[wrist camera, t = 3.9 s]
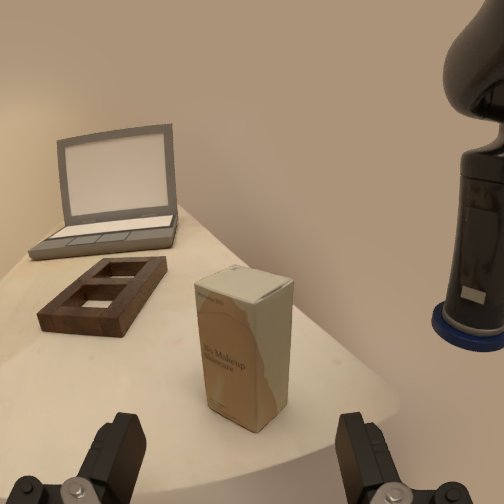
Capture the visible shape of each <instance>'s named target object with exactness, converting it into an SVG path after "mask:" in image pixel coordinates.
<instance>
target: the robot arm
mask: <svg viewBox="0 0 504 504" xmlns="http://www.w3.org/2000/svg"><path fill="white" fill-rule="evenodd" d="M443 86H444V91H445V94H446V97H447V99H448V101H449V103H450V104H451V106H452V107H453V108H454V109H455V110H456V111H457V112H459V113H461V114H462V115H465V116H467V117H471V118H474V119H480V120H486V121H492V122H497V123H499V124H500V125H499V134H498V137H497V138H496V140H495V141H493V142H492V143H490V144H488V145H486V146H484V147H481V148H477V149H473V150H469V151H466V152H464V153H463V154H462V157H461V164H460V174H461V176H460V190H459V208H458V219H457V229H456V238H455V247H454V254H453V261H452V267H451V273H450V279H449V284H448V290H447V296H446V300H445V303H444V306H443V311H442V315H443V318H444V320H445V321H446V322H447V323H448V324H449V325H450V326H452V327H453V328H455V329H457V330H459V331H461V332H463V333H466V334H469V335H473V336H479V337H491V336H496V335H499V334H501V333H502V332H503V331H504V0H485V2H484V3H483V5H482V7H481V8H480V10H479V11H478V13H477V14H476V16H475V17H474V18H473V19H472V20H471V22H470V23H469V24H468V25H467V26H466V27H465V29H464V30H463V31H462V32H461V33H460V35H459V36H458V37H457V38H456V39H455V40H454V42H453V43H452V45H451V47H450V49H449V50H448V53H447V56H446V59H445V63H444V69H443ZM335 448H336V453H337V458H338V462H339V466H340V471H341V475H342V479H343V484H344V488H345V492H346V497H347V502H348V504H473V502H472V500H471V497H470V495H469V492H468V490H467V488H466V487H465V486H464V485H462V484H461V483H458V482H447V483H444V484H442V485H441V486H440V487H439V488H438V489H437V490H414V489H411V488H409V487H408V486H407V485H405V484H403V483H402V481H401V480H400V478H399V475H398V473H397V470H396V467H395V465H394V462H393V459H392V457H391V454H390V451H389V450H388V447H387V444H386V443H385V439H384V436H383V433H382V431H381V430H380V429H379V428H378V427H377V426H376V425H375V424H374V423H373V422H372V423H366V424H364V421H363V418H362V415H361V413H360V412H354V413H346V414H341V415H340V418H339V423H338V428H337V433H336V438H335ZM145 451H146V437H145V435H144V432H143V429H142V427H141V424H140V421H139V419H138V416H137V415H136V414H129V413H121V412H118V413H117V414H116V416H115V419H114V421H113V423H106V424H105V425H103V426H102V427H101V428H100V429H99V430H98V432H97V434H96V436H95V438H94V441H93V443H92V445H91V449H89V451H88V453H87V455H86V457H85V460H84V462H83V464H82V466H81V468H80V471H79V473H78V475H77V476H76V477H73V478H70V479H68V480H66V481H65V482H64V483H63V484H62V485H49V484H42V483H41V482H40V481H39V480H38V479H37V478H36V477H33V476H23V477H21V478H19V479H18V480H17V481H16V483H15V484H14V487H13V489H12V491H11V493H10V495H9V497H8V499H7V502H6V504H129V503H130V500H131V497H132V494H133V490H134V487H135V484H136V480H137V477H138V474H139V471H140V467H141V464H142V461H143V458H144V455H145Z"/></svg>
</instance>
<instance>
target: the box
mask: <svg viewBox="0 0 504 504" xmlns="http://www.w3.org/2000/svg"><path fill="white" fill-rule="evenodd" d="M194 285H195V296H196V307H197V317H198V327H199V336H200V345H201V354H202V363H203V371H204V379H205V387H206V394H207V401H208V406H209V407H210V408H212V409H213V410H215V411H216V412H218V413H220V414H222V415H223V416H225V417H227V418H228V419H230V420H232V421H234V422H236V423H237V424H239V425H241V426H243V427H245V428H247V429H249V430H250V431H253V432H255V433H257V432H259V431H260V430H261V429H262V428H263V427H264V426H265V425H266V424H267V423H268V422H270V421H271V420H272V419H273V418H274V417H275V416H276V415H277V414H278V413H279V412H280V411H281V410H282V409H283V408H284V406H285V405H286V404H287V398H288V381H289V363H290V347H291V327H292V305H293V285H294V280H292V279H291V278H286V277H283V276H279V275H275V274H271V273H268V272H265V271H261V270H255V269H251V268H246V267H243V266H239V265H233V266H231V267H229V268H226V269H224V270H222V271H220V272H217V273H215V274H213V275H210V276H208V277H205V278H203V279H201V280H199V281H197V282H195V283H194Z"/></svg>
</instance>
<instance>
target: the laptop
mask: <svg viewBox="0 0 504 504" xmlns="http://www.w3.org/2000/svg"><path fill="white" fill-rule="evenodd" d="M57 153H58V167H59V179H60V188H61V198H62V206H63V214H64V221H65V227H64V228H62V229H61V230H59V231H58V232H56V233H54V234H53V235H51V236H50V237H48V238H47V239H45V240H44V241H42V242H41V243H39V244H38V245H36V246H35V247H33V248H32V249H30V250H29V251H28V253H29V257H30V258H32V259H34V260H44V259H54V258H64V257H75V256H85V255H95V254H106V253H117V252H127V251H138V250H149V249H160V248H168V247H169V246H170V245H171V244H172V242H173V238H174V234H175V230H176V226H177V221H178V210H177V198H176V184H175V169H174V152H173V131H172V124H163V125H152V126H144V127H136V128H128V129H121V130H113V131H107V132H100V133H95V134H89V135H83V136H77V137H72V138H67V139H62V140H58V141H57Z"/></svg>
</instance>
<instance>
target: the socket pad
mask: <svg viewBox="0 0 504 504" xmlns="http://www.w3.org/2000/svg"><path fill="white" fill-rule="evenodd" d="M166 271H167V262H166V256H160V257H129V258H103V259H102V260H100V261H99V262H98V263H97V264H95V265H94V266H93V267H92V268H90V269H89V270H88V271H87V272H85V273H84V274H83V275H82V276H80V277H79V278H78V279H77V280H75V281H74V282H73V283H72V284H71V285H69V286H68V287H67V288H66V289H65V290H63V291H62V292H61V293H60V294H59V295H58V296H56V297H55V298H54V299H53V300H52V301H51V302H49V303H48V304H47V305H46V306H45V307H44V308H42V309H41V310H40V311H39V312H38V313H37V317H38V320H39V323H40V326H41V329H42V331H49V332H59V333H70V334H82V335H96V336H111V337H123V336H124V334H125V333H126V331H127V330H128V328H129V327H130V325H131V324H132V322H133V320H134V319H135V317H136V316H137V314H138V313H139V311H140V310H141V308H142V307H143V305H144V304H145V302H146V301H147V299H148V298H149V296H150V295H151V293H152V292H153V290H154V289H155V287H156V286H157V285H158V283H159V282H160V280H161V279H162V277H163V276H164V274H165V273H166ZM111 276H135V277H134V278H110V277H111ZM87 300H114V301H113V302H112V303H111V304H110V305H109V307H108V308H93V307H81V306H82V305H83V304H84V303H85V302H86V301H87Z"/></svg>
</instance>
